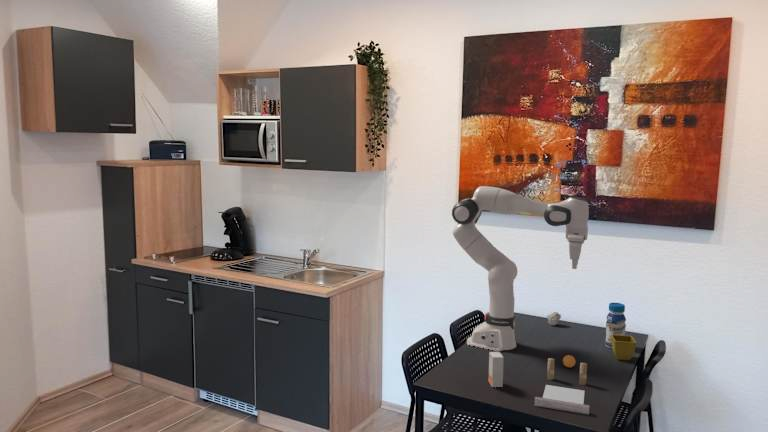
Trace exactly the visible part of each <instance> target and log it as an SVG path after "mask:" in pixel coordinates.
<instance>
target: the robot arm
mask: <svg viewBox="0 0 768 432" xmlns="http://www.w3.org/2000/svg"><path fill="white" fill-rule="evenodd" d="M589 209H590V207H589V203H588V200H587V199H585V198H582V197H578V196H569V197H568V198H566V199H565V200H562V201H554V202H544V201H540V200H535V199H531V198H527V197H525V196H523V195H520V194H518V193H515V192H512V191H510V190H508V189H504V188H501V187H496V186H495V187H494V186H487V185H485V186H484V185H481V186H478V187H477V188H476V189H475V191H474V192H473V196H472V197H467V198H464V199H461V200H459V201H458V202H456V203H455V204H454V206H453V207H452V210H451V216H452V219H453V220H454V221H455V223H457V224H456V225H455V226H454V227H453V230H452V236H453V237H454V239H455V240H456V242H457V243H458V245H459V246H460V247H461V248H462V249H463V251H465V253H466V254H467V255H468V256H469V257H470V258H471V259H472V261H474V262H475V263H476V264H477V265H479V266H481V267H482V268H483V269H485V270H486V271H487V272H488V274H487V275H488V276H487V281H488V290H489V291H488V294H489V309H488V310H489V311H486V313H485V315H484V321H483V322H482V323H479V325H477V326H476V327H474V329H473V331H472V334H471V336H469V337H468V338H467V339H466V345H467V346H469V345H470V346H469V347H473V346H475V347H474V348H478V347H479V348H478V349H483V348H484V349H483V350H488V349H489V350H488V351H492V350H493V351H492V352H502V351H510V350H513V349H515V348H517V343H516V337H515V328H516V327H515V326H516V318H515V293H514V282H515V281H514V280H515V279H516V278H517V275H518V267H517V265H516V262H514V261H513V260H511V259H510V258H509V257H508V256H506V255H505V254H504V253H503V252H501V251H500V250H499V249H497V248H496V247H495V246H494V245H493V244H492V243H491V242H490V241H489V240H488V238H487V237H486V236H484V234H482V232H481V231H480V230H479V229H478V228H477V227H476V224H477V222H478V221H479V219H480V217H481V216H482V212H483V211H488V212H493V213H495V214H502V215H512V214H513V215H514V214H517V213H518V214H519V213H521V214H522V213H526V214H532V215H536V216H540V217H541V216H542V217H543V218H544V221H545V222H546V223H547V224H548V225H549V226H552V227H561V226H565V239H567V241H568V249H569V250H568V252H569V259H570V260H571V268H572V269H573V270H577V268H578V264H579V260H580V256H581V254H582V253H581V252H582V246H583V244H585V241H586V240H588V232H589V226H588V221H589V214H590V211H589Z"/></svg>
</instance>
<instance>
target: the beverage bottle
mask: <svg viewBox="0 0 768 432" xmlns="http://www.w3.org/2000/svg"><path fill="white" fill-rule="evenodd" d="M625 309H626V305H625V304H624V303H621V302H610V303H608V311H609V312H608V314H607V316H606V319H607V320H606V322H605V341H604V342H605V343H604V345H605V347H607V348H609V349H612V340H611V335H623V336H626V328H627V325H626V321H627V318H626V316H625V314H624V313H625Z"/></svg>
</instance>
